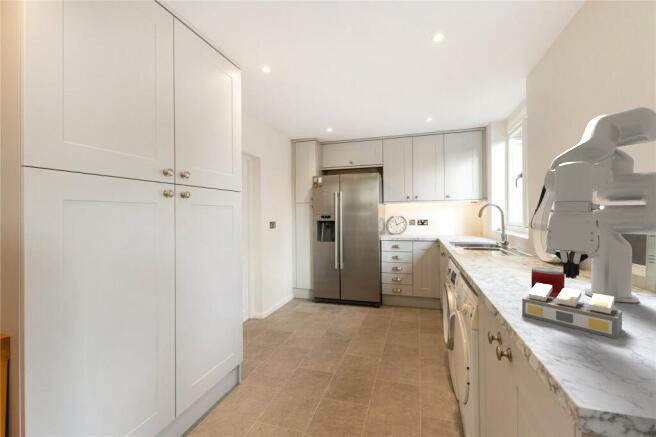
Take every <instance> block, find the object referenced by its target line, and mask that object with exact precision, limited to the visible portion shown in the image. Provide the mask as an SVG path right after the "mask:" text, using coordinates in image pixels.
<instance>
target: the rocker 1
mask: <svg viewBox="0 0 656 437" xmlns="http://www.w3.org/2000/svg"><path fill="white" fill-rule="evenodd" d="M551 292H552V285H546V284H540V283H536V284H535V286H534V287H533V288H532V290H530V291H529V292H528V296H529V298H531V299H536V300H541V301H546V300H547V298H548V296H549V295H550V293H551Z"/></svg>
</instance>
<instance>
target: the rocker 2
mask: <svg viewBox="0 0 656 437" xmlns="http://www.w3.org/2000/svg"><path fill="white" fill-rule="evenodd" d="M581 297H582V290H576V289H571V288H565V287H564V288H563V289H562V291H561V292H560V294H559V295H558V297H557V303H560V304H564V305H569V306H574V307H576V305H577V303H578V302H580V300H581Z"/></svg>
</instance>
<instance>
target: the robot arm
mask: <svg viewBox="0 0 656 437" xmlns="http://www.w3.org/2000/svg"><path fill="white" fill-rule="evenodd" d="M655 141H656V111H654V110H653V109H651V108H649V107H636V108H635V107H634V108H629V109H626V110H621V111H620V110H619V111H617V112H613V113H607V114H603V115H599V116H597V117H595V118H593V119H591V121H589V123H588V124H587V125H586V127H585V129H584V131H583V133H582V135H581V138H580V140H579V143H578V144H576V145H575V146H573V147H571V148H569V149H568V150H566V151H564V152H562V153H561V154H560V155H558V156H557V157H555V158H554V159H553V160H552V161H551V163H550V165H549V167H548V168H547V171H546V173H545V176H544V180H543V181H544V182H543V185H544V189H545V190H546V191H547V192H548V193H550V194H552V195H553V194H554V196H553V198H554V199H553V206H554V207H553V214H550V217H549V220H548V221H549V222H548V226H547V232H546V249H545V253H546V254H549V255H553V256H556V257H557V258H558V259H559V260H560V261H561V262H562V264H563V265H562V266H563V268H562V271H563V274H565V278H566V279H569V278H570V279H576V278H577V277H579V276H580V266H581V265H580V263H582V262H584V261H586V260H588V259H591V270H590V271H591V273H590V274H591V275H590V276H591V282H590V286H591V288H586V289H584V293H585V295H587V296H589V297H592V296H593V294H594V293H596V294H602V295H608V296H614V301H615V302H618V303H628V304H630V303H632V304H633V303H639V302H640V301H639V300H640V298H639V297H638V296H635V295H633V294H632V287H633V286H632V283H633V281H632V280H633V270H632V269H633V265H632V264H633V248H632V245H631V244H630V242H629V241H628V240H626V239H625V238H624V237H623V236H622V234H623V235H624V234H625V235H656V171H643V172H634V168H635V166H634V165H635V160H634V158H633V157H632V156H631V155H629V154H628V153H626V151H623V150H622V149H620V148H619V147H626V146H632V145H638V144H639V145H641V144H646V143H650V142H655ZM593 193H596V197H597V198H598V200H600V201H601V202H603V203H604V202H605V203H632V202H643V203H645V204H616V205H614V204H613V205H612V204H611V205H601V204H599V203H597V204H596V203H594V202H593ZM569 252H573V253H574V256H573V260H572V261H571V259H570V255H569V254H570V253H569Z"/></svg>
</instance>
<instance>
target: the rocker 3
mask: <svg viewBox="0 0 656 437" xmlns="http://www.w3.org/2000/svg"><path fill="white" fill-rule="evenodd" d="M615 302H616V301H614V296H608V295H602V294H596V293H594V294H593V296H591V298H590V300H589V302H588V304H589V310H594V311H599V312H604V313H609V314H610V313H611V311H612V308H613V307H614V304H615ZM613 309H614V308H613Z"/></svg>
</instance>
